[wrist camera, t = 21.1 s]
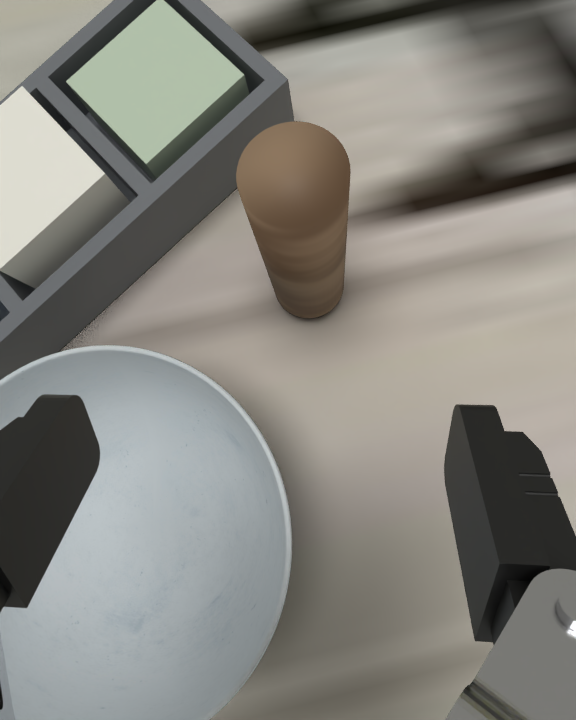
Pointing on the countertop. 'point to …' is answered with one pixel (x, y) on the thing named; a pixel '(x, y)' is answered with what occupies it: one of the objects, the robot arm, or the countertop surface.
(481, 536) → the robot arm
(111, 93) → the sage key
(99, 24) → the keypad
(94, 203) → the ivory key
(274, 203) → the walnut stylus
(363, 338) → the countertop surface
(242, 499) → the chinaware
